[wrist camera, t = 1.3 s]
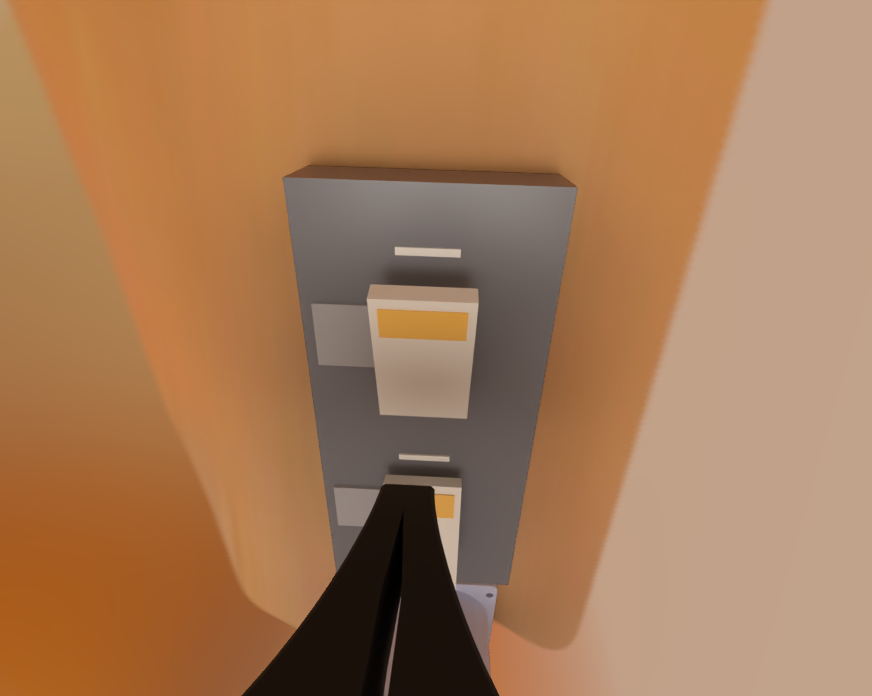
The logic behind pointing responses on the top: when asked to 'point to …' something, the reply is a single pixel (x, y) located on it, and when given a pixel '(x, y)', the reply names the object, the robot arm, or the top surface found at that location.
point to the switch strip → (494, 341)
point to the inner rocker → (441, 511)
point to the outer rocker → (423, 348)
